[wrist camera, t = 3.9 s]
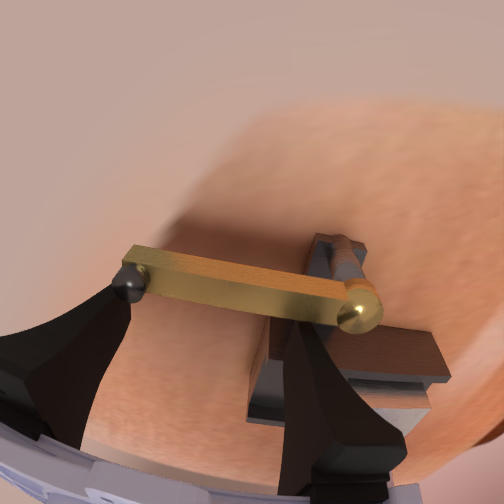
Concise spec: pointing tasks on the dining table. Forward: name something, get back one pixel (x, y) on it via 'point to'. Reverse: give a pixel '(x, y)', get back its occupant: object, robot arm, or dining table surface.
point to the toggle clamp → (341, 341)
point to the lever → (248, 289)
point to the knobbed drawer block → (394, 401)
